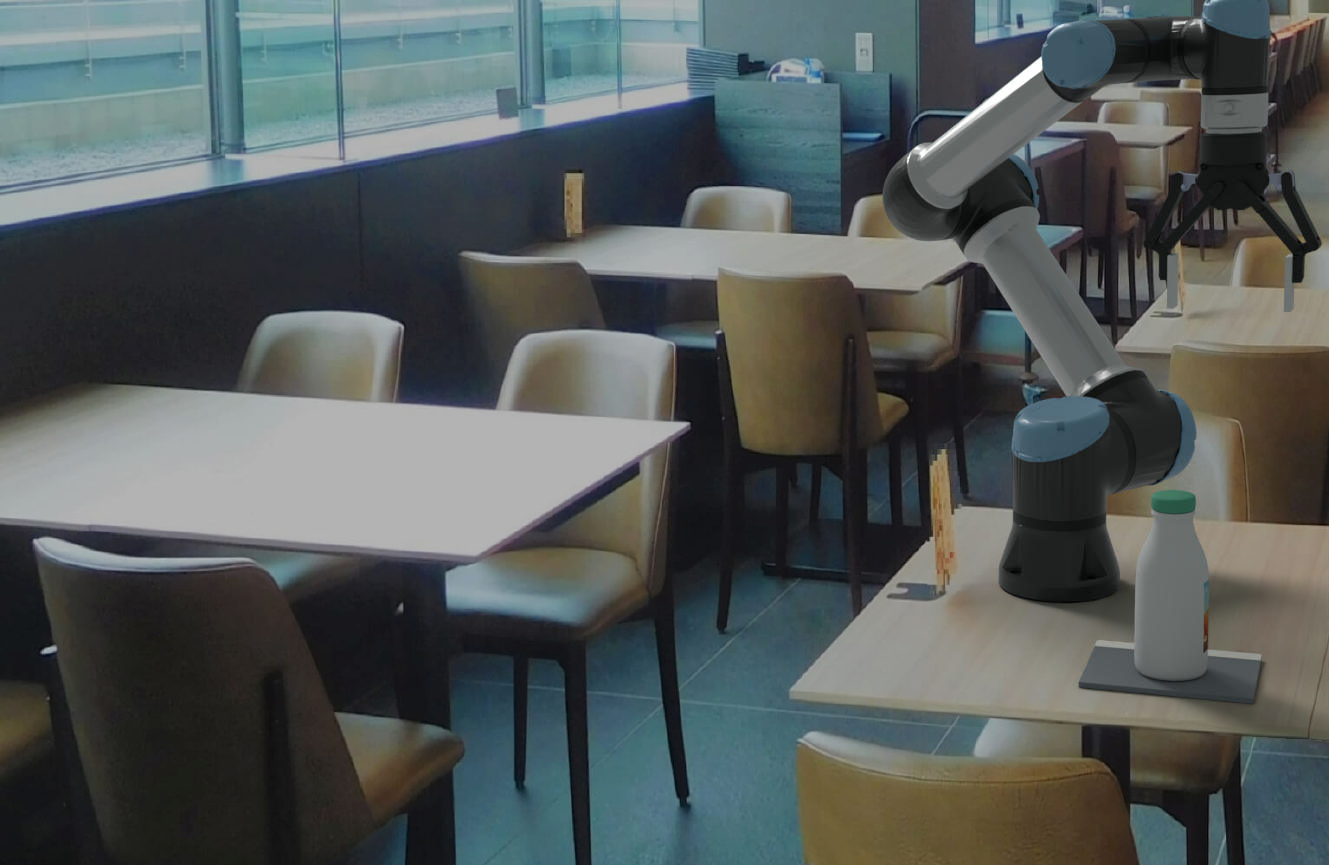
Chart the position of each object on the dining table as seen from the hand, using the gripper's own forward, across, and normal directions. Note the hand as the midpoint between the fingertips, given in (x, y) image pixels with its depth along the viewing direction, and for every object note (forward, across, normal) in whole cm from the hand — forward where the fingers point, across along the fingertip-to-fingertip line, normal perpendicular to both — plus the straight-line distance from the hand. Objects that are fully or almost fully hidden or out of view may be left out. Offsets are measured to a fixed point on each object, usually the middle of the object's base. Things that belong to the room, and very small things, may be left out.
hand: (1229, 309), depth 215 cm
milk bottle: (+35, 0, -32) cm, 47 cm away
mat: (+36, 0, -31) cm, 47 cm away
